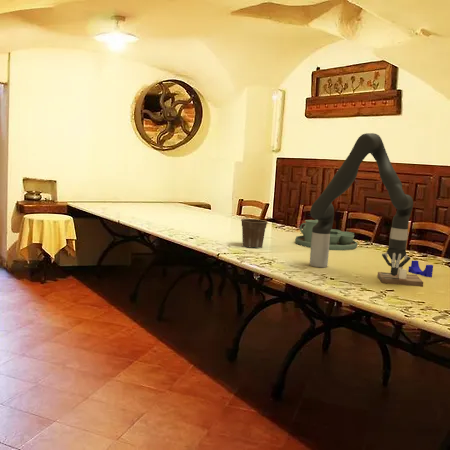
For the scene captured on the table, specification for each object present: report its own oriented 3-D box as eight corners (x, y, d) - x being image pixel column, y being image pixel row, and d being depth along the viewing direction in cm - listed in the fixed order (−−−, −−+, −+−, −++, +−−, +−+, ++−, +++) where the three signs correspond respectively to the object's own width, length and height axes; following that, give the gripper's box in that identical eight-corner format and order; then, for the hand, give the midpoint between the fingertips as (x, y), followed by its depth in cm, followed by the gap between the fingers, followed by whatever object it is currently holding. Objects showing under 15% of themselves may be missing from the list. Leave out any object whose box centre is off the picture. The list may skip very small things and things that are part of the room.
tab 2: (398, 277, 237) (398, 268, 237) (404, 277, 237) (405, 269, 236) (399, 278, 234) (400, 270, 234) (406, 279, 234) (406, 270, 233)
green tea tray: (354, 253, 312) (356, 226, 310) (289, 246, 325) (291, 220, 322) (358, 244, 350) (361, 220, 348) (300, 238, 362) (302, 215, 360)
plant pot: (271, 248, 312) (273, 221, 310) (251, 249, 302) (252, 222, 300) (254, 243, 325) (255, 218, 323) (234, 245, 315) (235, 219, 313)
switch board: (377, 275, 249) (377, 271, 249) (416, 279, 246) (416, 274, 246) (381, 282, 234) (382, 278, 234) (422, 286, 231) (423, 281, 231)
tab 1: (394, 273, 246) (395, 265, 245) (400, 273, 245) (401, 265, 245) (395, 274, 243) (396, 266, 242) (402, 275, 243) (402, 266, 242)
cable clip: (408, 272, 263) (409, 260, 262) (415, 271, 265) (416, 260, 264) (424, 277, 252) (425, 265, 251) (431, 277, 254) (433, 265, 253)
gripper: (412, 238, 236) (407, 275, 238) (382, 235, 238) (377, 272, 240) (415, 240, 229) (410, 278, 231) (384, 237, 231) (379, 275, 233)
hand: (393, 275), depth 236 cm, fingers closed
